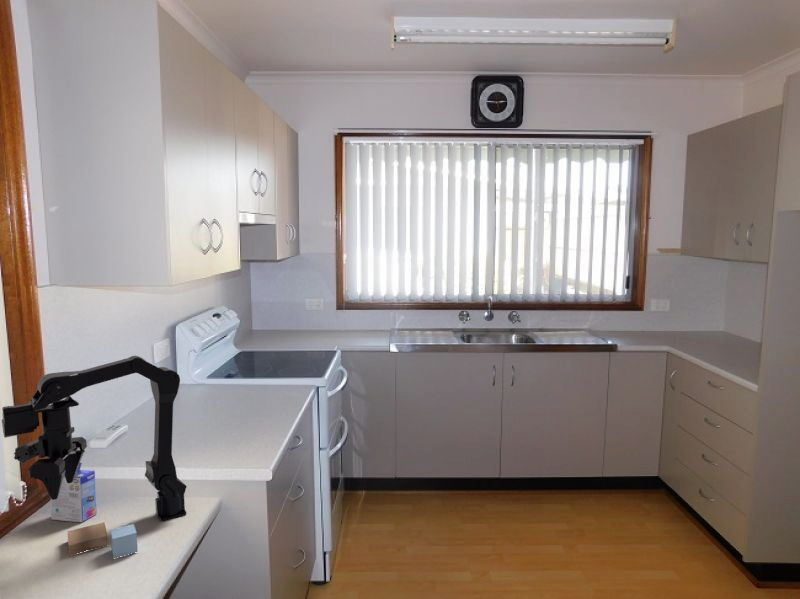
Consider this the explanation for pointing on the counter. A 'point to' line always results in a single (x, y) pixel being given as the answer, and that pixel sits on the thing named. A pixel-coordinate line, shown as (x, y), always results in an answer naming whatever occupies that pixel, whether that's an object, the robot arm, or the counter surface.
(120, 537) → the slate cube
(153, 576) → the counter surface
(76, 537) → the walnut block
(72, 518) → the ink cartridge box
